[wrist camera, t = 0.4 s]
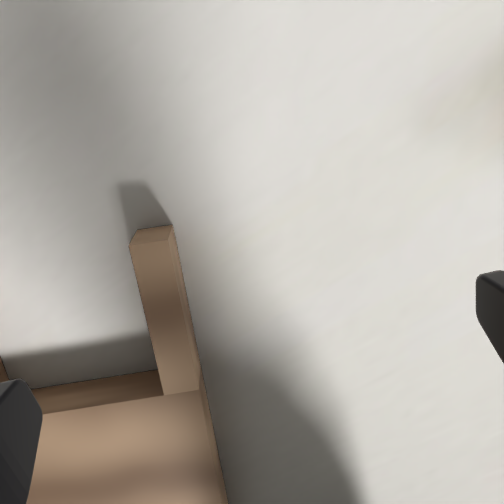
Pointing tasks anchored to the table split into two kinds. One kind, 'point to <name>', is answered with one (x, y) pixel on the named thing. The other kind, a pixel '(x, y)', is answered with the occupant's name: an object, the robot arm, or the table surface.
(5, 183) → the table surface
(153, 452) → the notched board
